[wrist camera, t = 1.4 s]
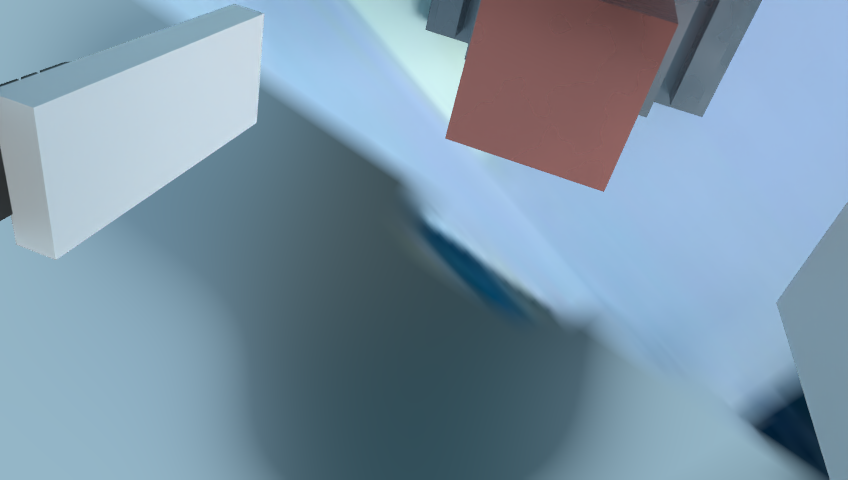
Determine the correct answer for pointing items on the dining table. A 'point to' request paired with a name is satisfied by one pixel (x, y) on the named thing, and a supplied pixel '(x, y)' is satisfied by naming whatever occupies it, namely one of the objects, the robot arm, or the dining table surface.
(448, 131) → the block
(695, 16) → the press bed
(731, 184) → the dining table surface
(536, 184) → the dining table surface
